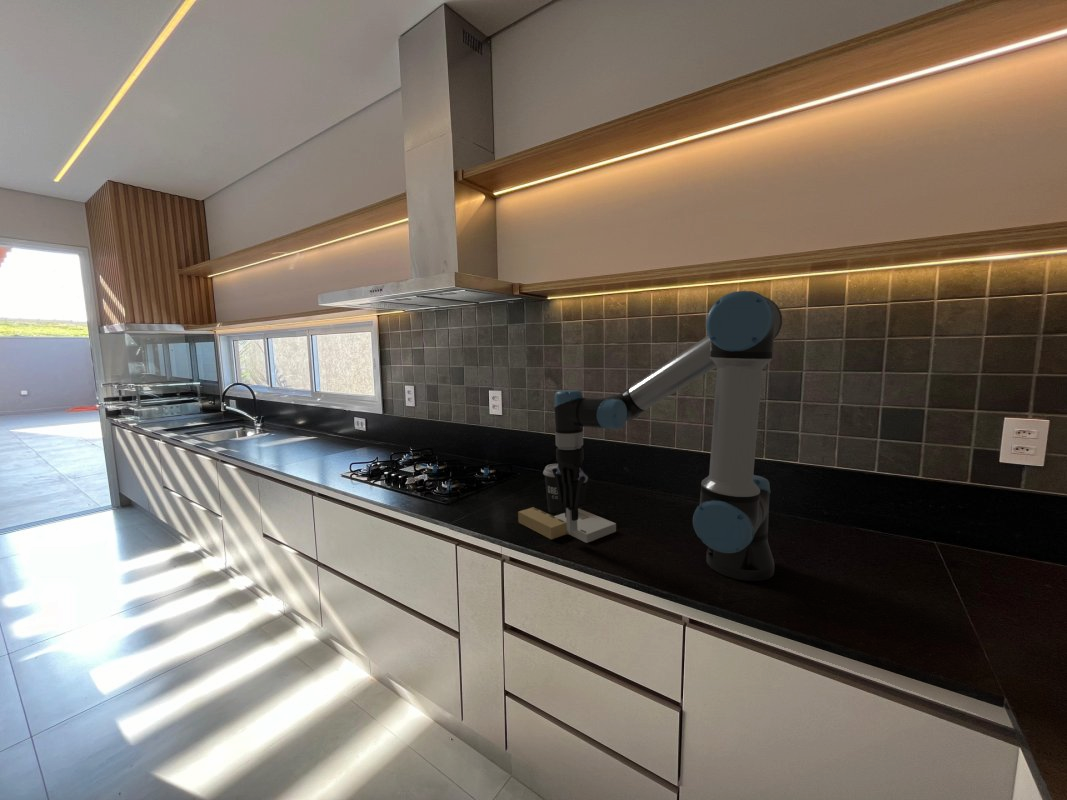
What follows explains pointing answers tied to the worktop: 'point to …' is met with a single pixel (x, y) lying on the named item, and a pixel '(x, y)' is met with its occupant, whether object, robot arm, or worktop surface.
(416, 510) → the worktop surface
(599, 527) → the flat white box
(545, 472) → the coffee cup
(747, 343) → the robot arm
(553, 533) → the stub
